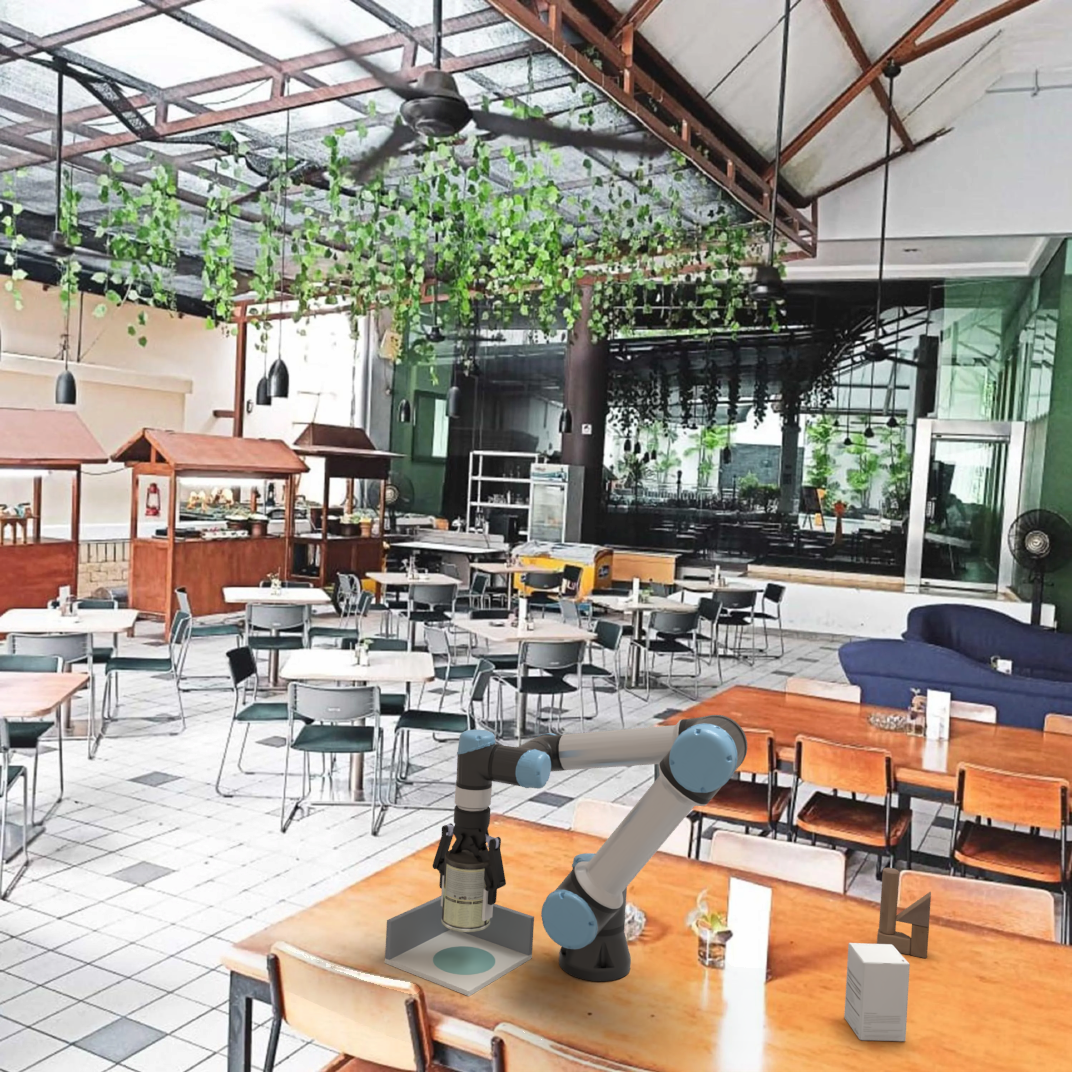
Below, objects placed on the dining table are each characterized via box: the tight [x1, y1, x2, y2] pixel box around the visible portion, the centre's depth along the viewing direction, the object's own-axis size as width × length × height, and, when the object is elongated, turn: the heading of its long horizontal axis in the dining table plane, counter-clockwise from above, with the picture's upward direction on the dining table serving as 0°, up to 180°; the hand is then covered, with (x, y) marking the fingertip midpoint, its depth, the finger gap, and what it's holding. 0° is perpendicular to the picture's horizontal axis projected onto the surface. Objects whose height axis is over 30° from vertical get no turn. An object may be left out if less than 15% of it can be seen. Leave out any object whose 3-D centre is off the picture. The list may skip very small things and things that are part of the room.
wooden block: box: [876, 867, 932, 959], centre depth 231 cm, size 4×11×18 cm, turn 68°
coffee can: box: [441, 849, 491, 932], centre depth 211 cm, size 10×10×14 cm
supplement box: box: [843, 942, 911, 1042], centre depth 194 cm, size 9×9×15 cm
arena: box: [384, 895, 535, 997], centre depth 213 cm, size 22×22×9 cm
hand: (466, 911), depth 211 cm, fingers closed on coffee can, 10 cm apart
